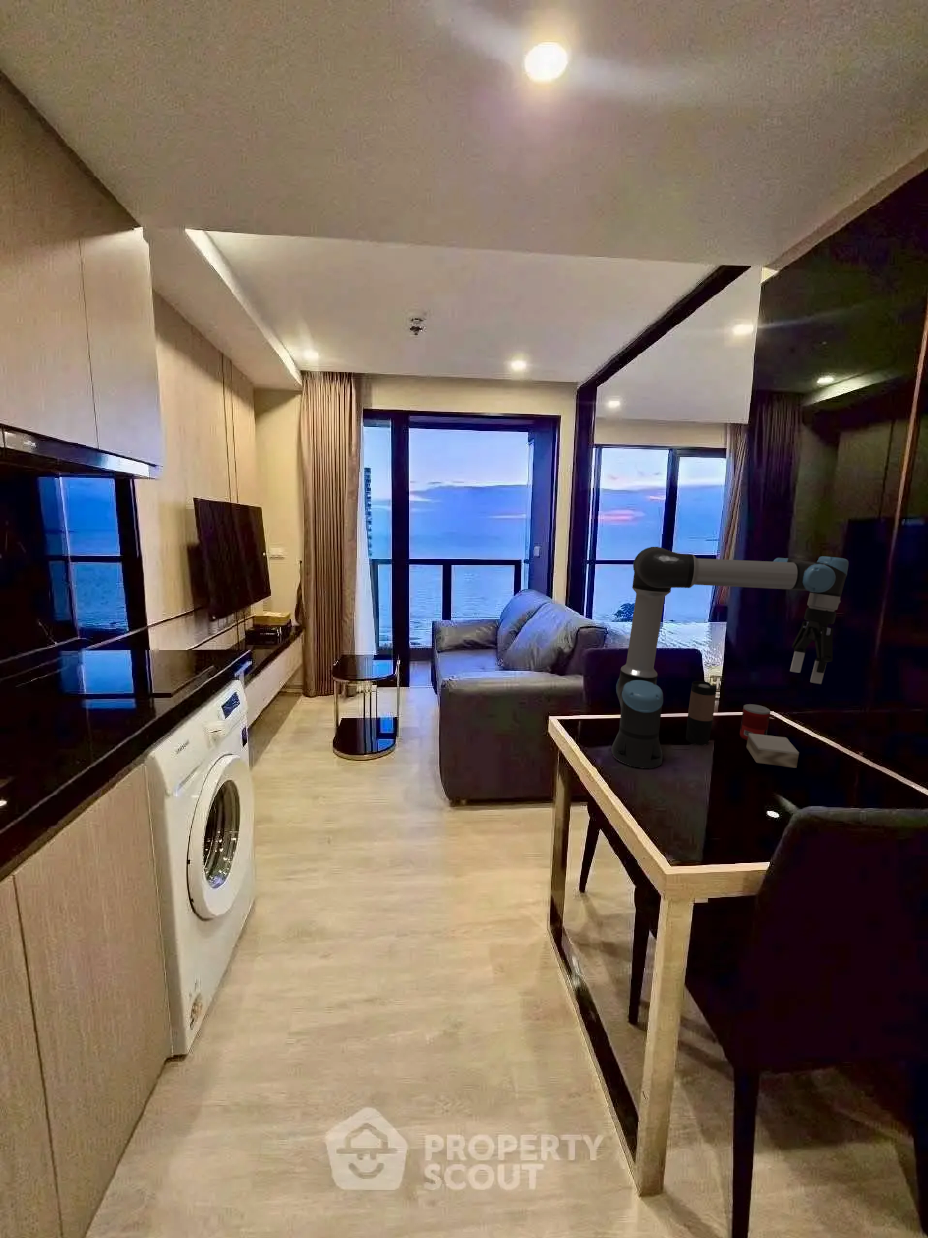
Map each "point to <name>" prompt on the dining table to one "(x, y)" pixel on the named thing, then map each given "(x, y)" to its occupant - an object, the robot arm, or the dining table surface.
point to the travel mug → (700, 712)
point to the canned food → (754, 720)
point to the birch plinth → (772, 750)
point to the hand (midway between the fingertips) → (804, 677)
